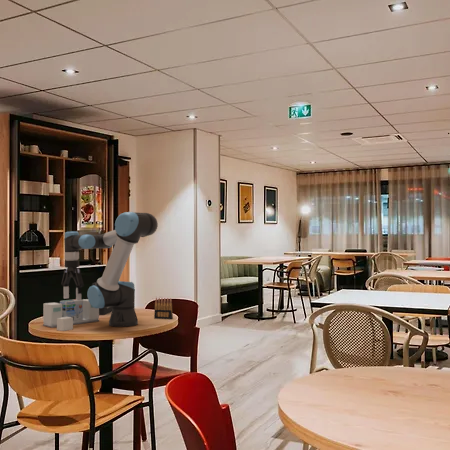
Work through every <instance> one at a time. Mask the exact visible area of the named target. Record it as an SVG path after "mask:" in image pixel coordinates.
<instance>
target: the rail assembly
mask: <svg viewBox="0 0 450 450" xmlns="http://www.w3.org/2000/svg"><path fill="white" fill-rule="evenodd" d="M82 300H83V320H76V321H73V326H75V325H82V324H89V323H96V322H100V319H99V318H100V315H99V308H94V307H92V306H91V304H90V303H89V301H88V298H86V299H84V298H83V299H82ZM42 312H43V313H42V314H43V317H42V319H43V320H42V321H43V324H42V326H43V327H48V328H52V329H53V328H57V318H62V304H60V302H45V303H43V311H42Z"/></svg>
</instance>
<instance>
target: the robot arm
mask: <svg viewBox="0 0 450 450" xmlns="http://www.w3.org/2000/svg"><path fill="white" fill-rule="evenodd" d="M158 225H159V224H158V220H157V218H156V217H155V216H154V215H153V214H151V213H149V212H134V211H128V212H127V211H125V212H123V213H122V212H121V213H120V214H119V215H118V216H117V218H116V220H115V223H114V229H113V230H110V231H108V232H105V233H103V234H89V233H88V234H86V233H85V234H79V232H78V231H66V232H64V239H63V241H64V242H63V243H64V260H65V261H64V267H65V268H63V275H62V280H61V286H62V287H63V299H64V300H65V299H66V300H67V299H70V294H69V293H70V287H69V286H70V282H71V279H73V281H74V284H75V299H76V300H82V288H83V287H85V283H84V280H83V277H82V276H83V275H82V271H81V269H80V268H79V267H80V260H79V259H80V250H88V249H91V250H93V249H104V250H105V249H110V248H112V247H113V249H112V250H111V253H110V256H109V258H108V260H107V263H106V265H105V268H104V271H103V273H102V276H101V277H99V278H98V279H97V280H96V285H93V286H92V285H91V286H89V288H88V289H87V295H86V296H87V299H88V301H89V303H90V304H91V306H92V307H94V308H105V307H111V306H112V312H110V313H111V314H110V316H109V319H108V320H109V321H108V325H109V326H110V327H118V328H119V327H121V328H122V327H133V326H137V325H138V324H139V321H138V320H139V318H138V315H137V314H136V309H135V301H136V300H135V298H136V297H135V295H136V289H135V283H134V282H133V281H123V280H121V281H120V279H121V277H122V274H123V271H124V270H125V266H126V264H127V262H128V260H129V258H130V254H131V252H132V250H133V247H134V245H136V244H138V243H139V241H140V238H145V237H148V236H152V235H154V234H155V232H157V229H158Z"/></svg>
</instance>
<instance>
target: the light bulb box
mask: <svg viewBox="0 0 450 450" xmlns="http://www.w3.org/2000/svg"><path fill="white" fill-rule="evenodd" d="M83 300H84V299H81V300H76V298H75V299H66V300H65V299H64V300H60V301H59V303H60V304H62V317H73V321H76V320H83Z"/></svg>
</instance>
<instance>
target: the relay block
mask: <svg viewBox="0 0 450 450" xmlns="http://www.w3.org/2000/svg"><path fill="white" fill-rule="evenodd" d="M72 330H74V325H73V317H62V318H57V327H56V331H60V332H67V331H72Z"/></svg>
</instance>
